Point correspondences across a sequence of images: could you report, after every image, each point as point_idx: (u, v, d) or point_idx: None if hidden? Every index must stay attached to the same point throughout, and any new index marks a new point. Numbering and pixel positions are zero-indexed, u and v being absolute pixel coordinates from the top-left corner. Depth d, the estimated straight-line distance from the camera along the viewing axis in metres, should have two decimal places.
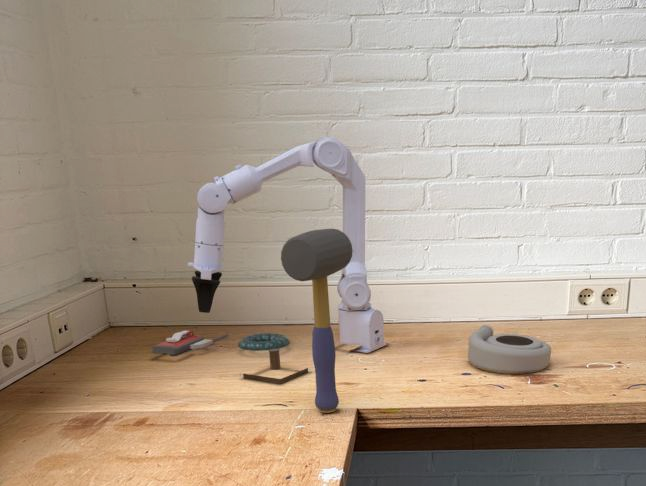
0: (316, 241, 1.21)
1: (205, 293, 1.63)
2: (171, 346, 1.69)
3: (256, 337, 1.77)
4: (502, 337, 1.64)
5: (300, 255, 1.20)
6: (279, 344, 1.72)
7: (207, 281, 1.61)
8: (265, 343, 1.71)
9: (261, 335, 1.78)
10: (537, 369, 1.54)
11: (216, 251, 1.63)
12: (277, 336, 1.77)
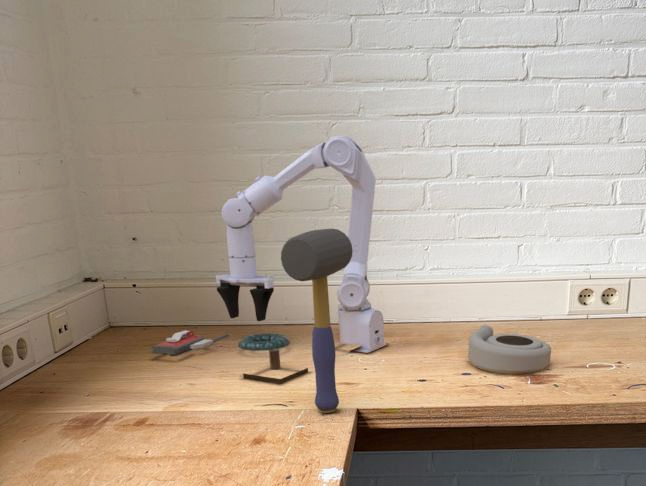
0: (316, 241, 1.21)
1: (261, 302, 1.72)
2: (171, 346, 1.69)
3: (256, 337, 1.77)
4: (502, 337, 1.64)
5: (300, 255, 1.20)
6: (279, 344, 1.72)
7: (268, 289, 1.71)
8: (265, 343, 1.71)
9: (261, 335, 1.78)
10: (537, 369, 1.54)
11: None
12: (277, 336, 1.77)
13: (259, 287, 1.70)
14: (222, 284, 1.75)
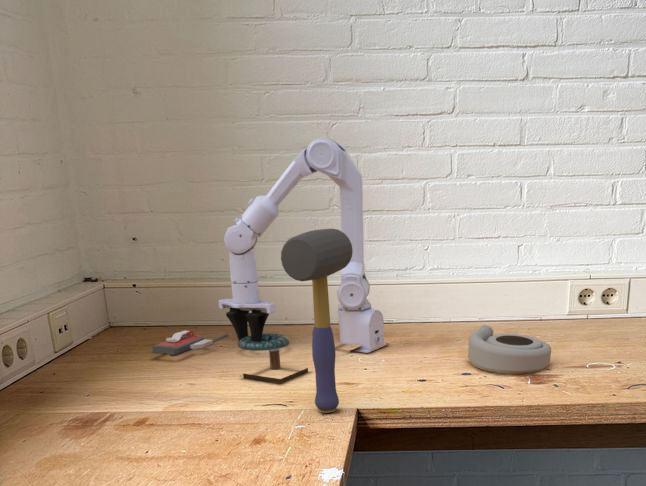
0: (316, 240, 1.21)
1: (257, 326, 1.75)
2: (171, 346, 1.69)
3: None
4: (502, 337, 1.64)
5: (300, 255, 1.20)
6: (279, 344, 1.72)
7: (263, 313, 1.74)
8: (265, 343, 1.71)
9: None
10: (537, 369, 1.54)
11: None
12: (277, 336, 1.77)
13: (254, 311, 1.73)
14: (231, 309, 1.76)
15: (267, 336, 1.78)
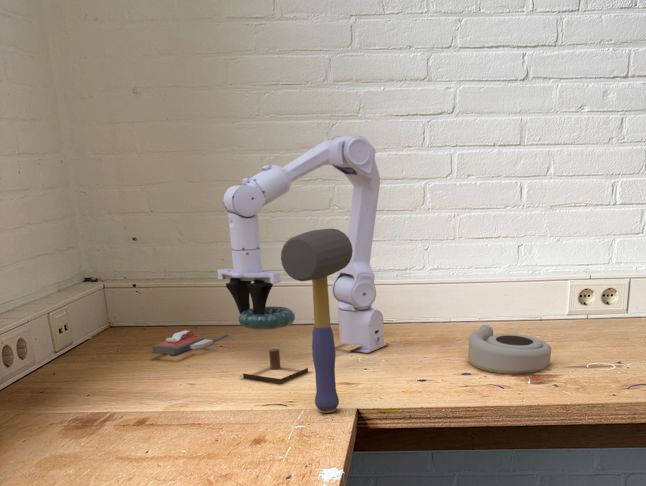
0: (316, 241, 1.21)
1: (259, 298, 1.60)
2: (171, 346, 1.69)
3: None
4: (502, 337, 1.64)
5: (300, 255, 1.20)
6: (283, 317, 1.57)
7: (266, 284, 1.58)
8: (268, 316, 1.56)
9: None
10: (537, 369, 1.54)
11: None
12: (281, 309, 1.62)
13: (257, 281, 1.58)
14: (232, 280, 1.61)
15: (271, 309, 1.63)
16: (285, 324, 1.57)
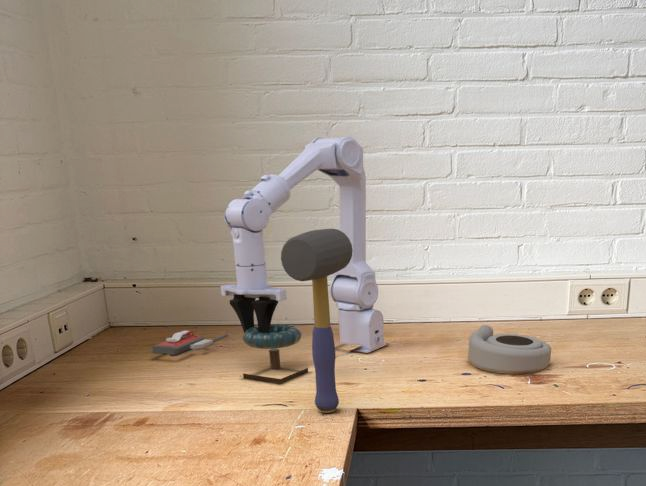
0: (316, 241, 1.21)
1: (264, 315, 1.54)
2: (171, 346, 1.69)
3: None
4: (502, 337, 1.64)
5: (300, 255, 1.20)
6: (290, 336, 1.50)
7: (272, 301, 1.52)
8: (274, 334, 1.49)
9: None
10: (537, 369, 1.54)
11: None
12: (287, 327, 1.55)
13: (262, 299, 1.52)
14: (235, 296, 1.55)
15: (276, 327, 1.57)
16: (291, 343, 1.51)
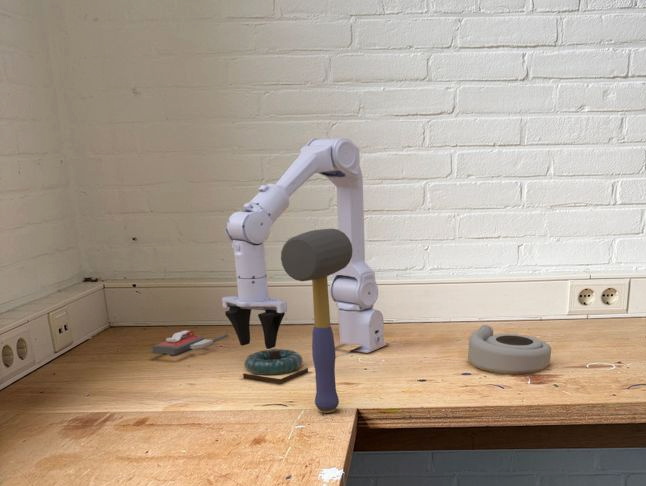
0: (316, 241, 1.21)
1: (271, 327, 1.54)
2: (171, 346, 1.69)
3: (264, 354, 1.58)
4: (502, 337, 1.64)
5: (300, 255, 1.20)
6: (291, 362, 1.53)
7: (278, 313, 1.52)
8: (276, 361, 1.51)
9: None
10: (537, 369, 1.54)
11: None
12: (288, 353, 1.57)
13: (268, 311, 1.52)
14: (231, 307, 1.56)
15: None
16: (293, 369, 1.53)
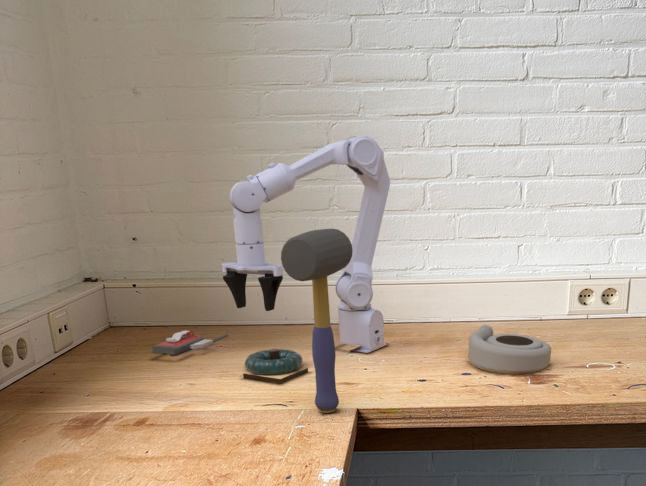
0: (316, 241, 1.21)
1: (270, 291, 1.64)
2: (171, 346, 1.69)
3: (264, 354, 1.58)
4: (502, 337, 1.64)
5: (300, 255, 1.20)
6: (291, 362, 1.53)
7: (277, 277, 1.63)
8: (276, 361, 1.51)
9: None
10: (537, 369, 1.54)
11: None
12: (288, 353, 1.57)
13: (268, 275, 1.62)
14: (228, 272, 1.67)
15: None
16: (293, 369, 1.53)
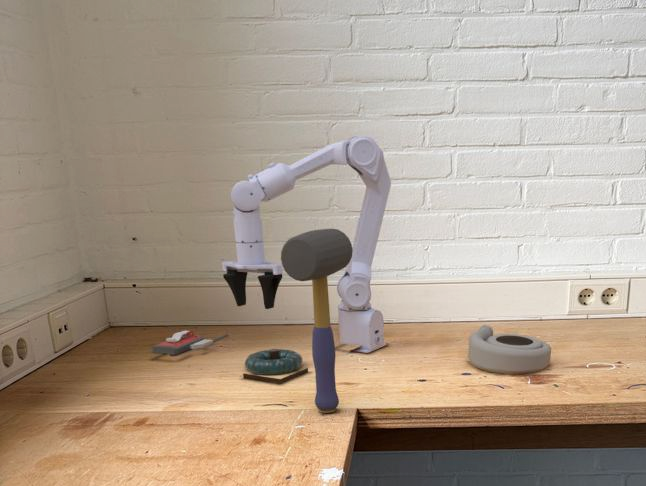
0: (316, 241, 1.21)
1: (269, 289, 1.66)
2: (171, 346, 1.69)
3: (264, 354, 1.58)
4: (502, 337, 1.64)
5: (300, 255, 1.20)
6: (291, 362, 1.53)
7: (276, 276, 1.65)
8: (276, 361, 1.51)
9: None
10: (537, 369, 1.54)
11: None
12: (288, 353, 1.57)
13: (267, 273, 1.64)
14: (229, 271, 1.69)
15: None
16: (293, 369, 1.53)
